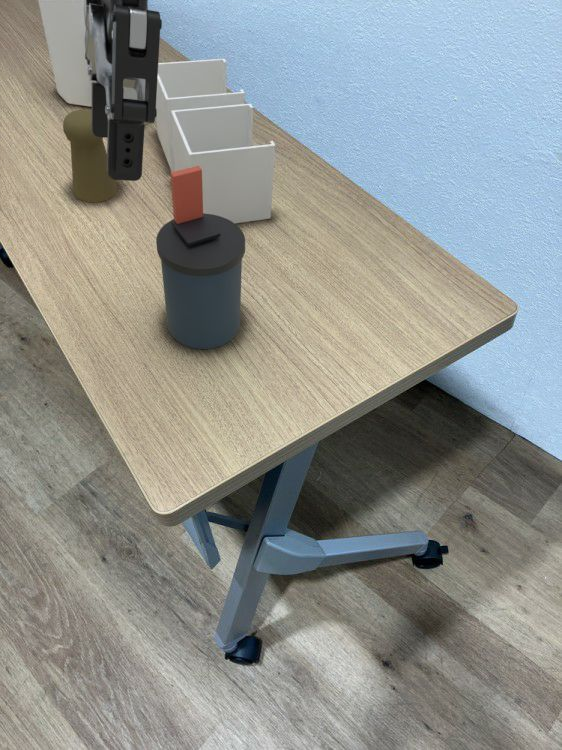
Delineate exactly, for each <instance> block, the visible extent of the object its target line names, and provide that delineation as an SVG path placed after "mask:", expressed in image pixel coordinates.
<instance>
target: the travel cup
mask: <svg viewBox="0 0 562 750" xmlns="http://www.w3.org/2000/svg"><path fill="white" fill-rule="evenodd" d="M205 216H206V217H207V218H208V219H209V220H210V222H211V223H212V224H213V225H214V227H215V228H216V229H217V230H218V231H219V233H220V237H217V238H213V239H210V240H207V241H204V242H200V243H197V244H194V245H190V246H188V245H187V244H186V242H185V241H184V240H183V239H182V237H181V236H180V235H179V233H178V232H177V231H176V229H175V228H174V227H173V225H172V224H171V221H174V218H173V219H170V220H169V221H167V222H166V223H165V224H163V226H162V227H160V229H159V231H158V233H157V235H156V240H155V245H156V252H157V255H158V257H159V259H160V263H161V275H162V283H163V292H164V293H163V294H164V303H165V304H164V305H165V313H166V323H167V329H168V332H169V334H170V335H171V337H172V338H173V339H174V340H175V341H176V342H178V344H181V345H182V346H185V347H188V348H191V349H196V350H210V349H216V348H219V347H222V346H224V345H227V344H228V343H229V342H231V341H232V340H233V339H234V338H235V337H236V335H237V334H238V333H239V331H240V327H241V303H242V269H243V268H242V267H243V265H242V264H243V258H244V256H245V254H246V253H245V252H246V251H245V250H246V237H245V234H244V232H243V231H242V229H241V228H240V227H239V226H238V225H237V223H233V222H232V221H230V220H228V219H226V218H223V217H221V216H217V215H212V214H205Z"/></svg>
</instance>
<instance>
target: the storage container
mask: <svg viewBox="0 0 562 750" xmlns="http://www.w3.org/2000/svg"><path fill="white" fill-rule="evenodd" d="M227 64H228V63H227V61H226V58H213V59H212V58H211V59H199V60H185V61H184V60H183V61H171V62H158V77H157V95H156V109H157V116H156V117H155V121H156V132H157V137H158V140H159V142H160V145H161V148H162V150H163V153H164V156H165V158H166V161H167V164H168V166H169V169H170V173H171V172H175V171H179V170H183V169H187V168H191V167H195V166H199V167H200V168H201V169H202V190H203V213H204V214H212V215H217V216H221V217H223V218H226V219H228V220H230V221H232V222H233V223H235V224H240V223H241V224H243V223H249V222H256V221H262V220H263V221H264V220H270V219H271V218H272V205H273V204H272V203H273V190H274V189H273V188H274V172H275V157H276V144H275V142H274V141H273V140H270V141H269V144H262V145H261V144H260V145H253V127H254V125H253V124H254V106H253V104H252V103H245V102H246V101H245V100H246V98H245V97H246V93H245V91H244V89H239V91H236V92H227V83H228V82H227V78H228V77H227V75H228V74H227V67H228V65H227Z"/></svg>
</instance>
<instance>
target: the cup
mask: <svg viewBox="0 0 562 750" xmlns="http://www.w3.org/2000/svg"><path fill="white" fill-rule="evenodd" d="M37 2H38V6H39V7H38V8H39V11H40V15H41V20H42V26H43V31H44V34H45V39H46V44H47V49H48V53H49V58H50V63H51V68H52V72H53V77H54V82H55V88H56V92H57V94H58V95H59V96H60V97H61V98H62V99H63V100H64V101H65V102H66V103H67V104H69V105H75V106H81V107H89V108H92V82H94V81H90V75H88V67H89V65H87V59H85V52H86V50H85V31H86V26H85V18H84V0H37Z"/></svg>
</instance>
